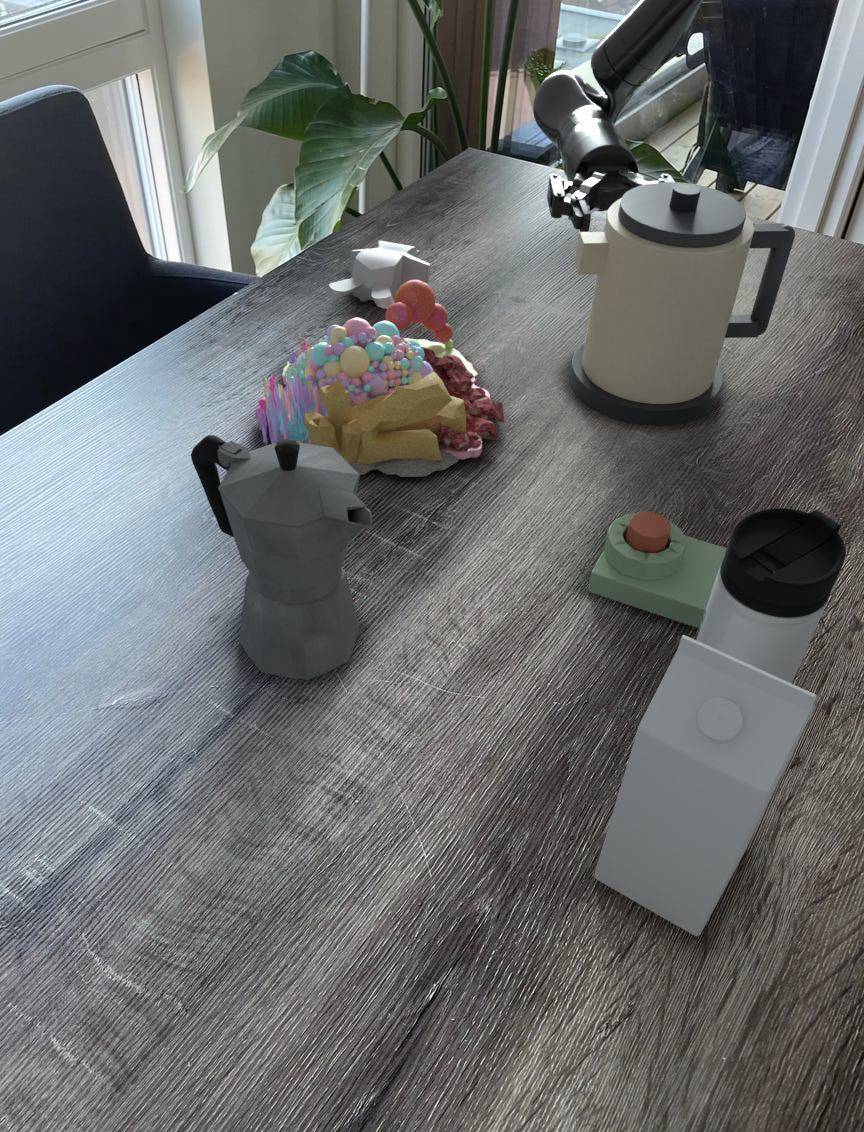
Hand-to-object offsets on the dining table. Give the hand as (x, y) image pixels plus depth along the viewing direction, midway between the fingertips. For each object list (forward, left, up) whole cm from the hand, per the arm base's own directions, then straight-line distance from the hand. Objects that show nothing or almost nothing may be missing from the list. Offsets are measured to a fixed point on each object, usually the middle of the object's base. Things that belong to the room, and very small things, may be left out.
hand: (626, 225), depth 109 cm
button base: (-20, +42, -9) cm, 47 cm away
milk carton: (-26, +68, -10) cm, 73 cm away
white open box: (+24, +10, -10) cm, 28 cm away
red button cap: (-16, +42, -6) cm, 45 cm away
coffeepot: (+6, +61, -10) cm, 62 cm away
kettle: (-9, +13, -9) cm, 18 cm away
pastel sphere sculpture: (+14, +31, -10) cm, 35 cm away
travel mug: (-26, +58, -10) cm, 64 cm away
